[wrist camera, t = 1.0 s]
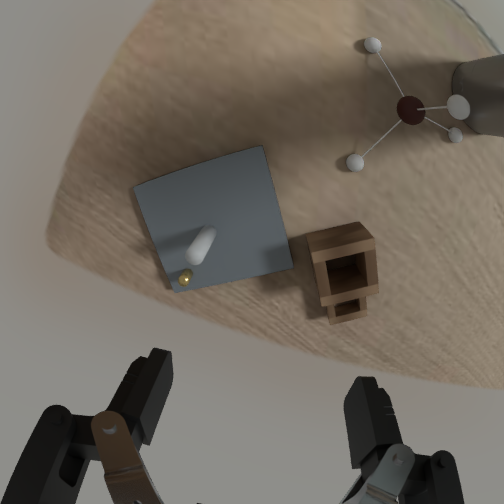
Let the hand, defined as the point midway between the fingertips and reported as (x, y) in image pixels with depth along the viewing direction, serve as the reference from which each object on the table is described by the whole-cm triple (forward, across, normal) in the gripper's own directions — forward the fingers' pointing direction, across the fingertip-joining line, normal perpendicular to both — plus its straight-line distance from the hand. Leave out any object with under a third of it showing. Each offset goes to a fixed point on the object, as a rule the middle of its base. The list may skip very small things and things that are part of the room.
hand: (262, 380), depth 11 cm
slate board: (+20, +6, +1) cm, 21 cm away
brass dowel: (+19, +8, +6) cm, 22 cm away
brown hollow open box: (+20, -8, +4) cm, 22 cm away
